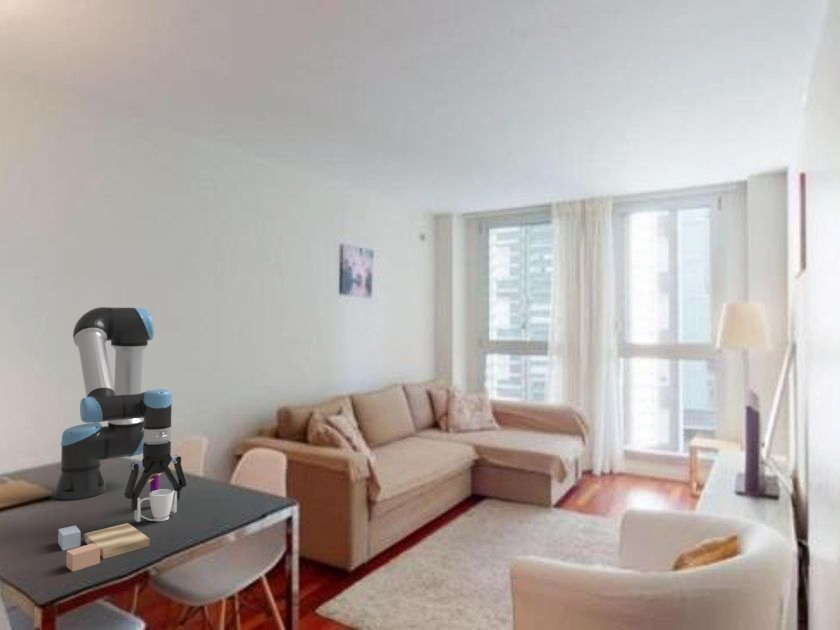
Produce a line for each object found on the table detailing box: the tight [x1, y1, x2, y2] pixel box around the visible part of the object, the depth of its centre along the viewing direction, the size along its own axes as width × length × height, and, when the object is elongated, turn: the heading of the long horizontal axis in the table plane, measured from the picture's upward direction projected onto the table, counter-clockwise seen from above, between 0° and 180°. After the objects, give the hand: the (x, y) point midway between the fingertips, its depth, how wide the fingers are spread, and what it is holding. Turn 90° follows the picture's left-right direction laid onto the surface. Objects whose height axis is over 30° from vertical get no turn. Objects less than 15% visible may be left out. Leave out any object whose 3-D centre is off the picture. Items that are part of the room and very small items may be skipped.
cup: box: [140, 488, 174, 522], centre depth 163 cm, size 7×10×8 cm
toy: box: [147, 472, 163, 509], centre depth 174 cm, size 10×6×15 cm, turn 5°
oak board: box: [83, 522, 151, 560], centre depth 145 cm, size 16×11×2 cm
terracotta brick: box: [65, 543, 101, 572], centre depth 133 cm, size 6×4×4 cm, turn 141°
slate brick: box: [57, 525, 82, 551], centre depth 144 cm, size 6×4×4 cm, turn 43°
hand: (155, 515), depth 163 cm, fingers closed on cup, 10 cm apart
